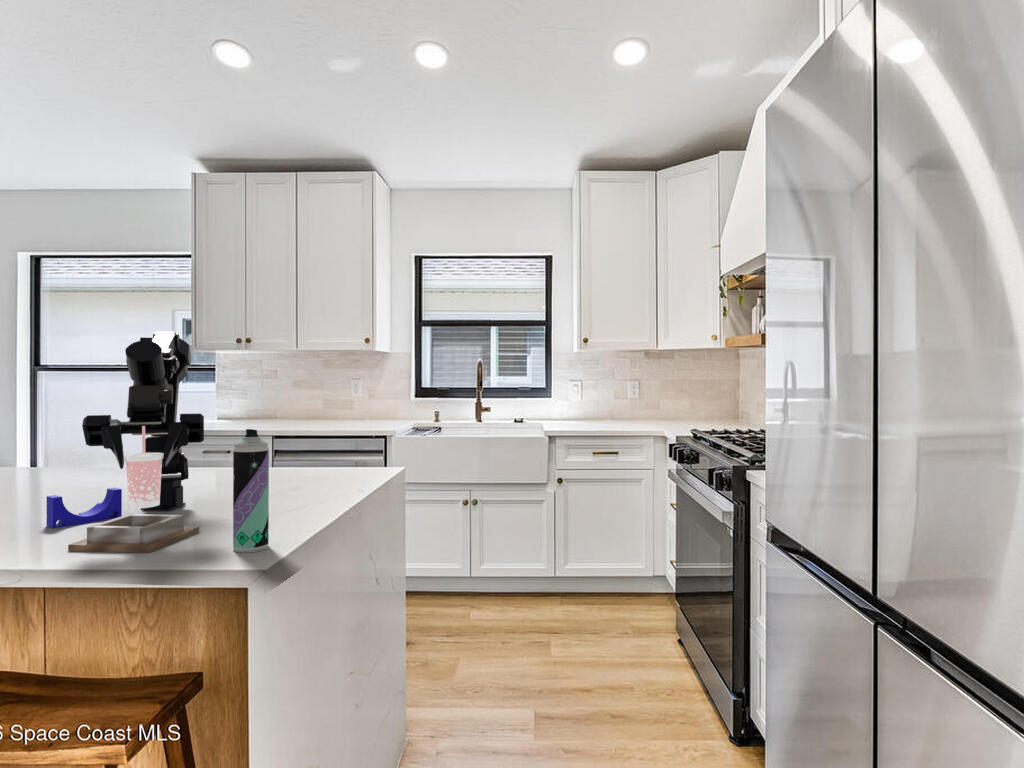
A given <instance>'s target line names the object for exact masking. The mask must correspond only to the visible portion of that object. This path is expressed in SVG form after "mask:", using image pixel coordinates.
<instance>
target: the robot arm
mask: <svg viewBox="0 0 1024 768" xmlns="http://www.w3.org/2000/svg"><path fill="white" fill-rule="evenodd" d="M125 356H126V361H125V362H126V367H127V370H128V373H129V377H130V379H131V380H132V382H133V384H132V385H130V386H129V387H128V395H127V396H128V397H127V399H128V400H127V409H126V416H127V418H128V419H129V420H128V421H120V420H119V419H116V418H114V419H112V415H111V414H92V415H91V414H89V415H86V416H85V417H84V418H83V419H82V425H81V427H82V432H83V436H84V441H85V445H86V446H89V447H103V448H104V449H106V450H111V452H112V453H113V455H114V456H115V459H116V461H117V464H118V466H119V468H120V469H121V470H122V469H124V466H125V461H124V444H123V435H126V434H127V435H129V434H131V435H132V436H142V426H145V436H146V437H145V453H164V456H163V459H162V470H161V488H160V505H158V506H155V507H149V508H140V511H161V512H162V511H166V512H167V511H172V510H175V509H178V508H182V507H184V506H186V502H184V485H182V481H184V480H188V479H189V478H190V477H189V461H188V460H189V459H188V458H187V457H186V455H185V452H183V450H182V447H186V446H188V445H189V444H193V443H194V444H195V443H197V444H198V443H202V442H204V440H205V416H204V415H203V414H202V413H199V412H198V413H179V421H177V418H178V417H177V415H178V402H179V391H180V389H179V388H180V383H181V382H182V381H183V380H184V379H185V378H186V377H187V376H188V370H189V369H188V368H189V367H191V365H192V352H191V346H190V343H188V342H187V341H185V340H183V339H182V338H180V334H179V332H176V331H159V330H157V331H156V332H155V331H154V332H153V333H152V337H140V338H139V341H135V342H132V343H131V344H129V345H128V346H127V347H126V348H125Z"/></svg>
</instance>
